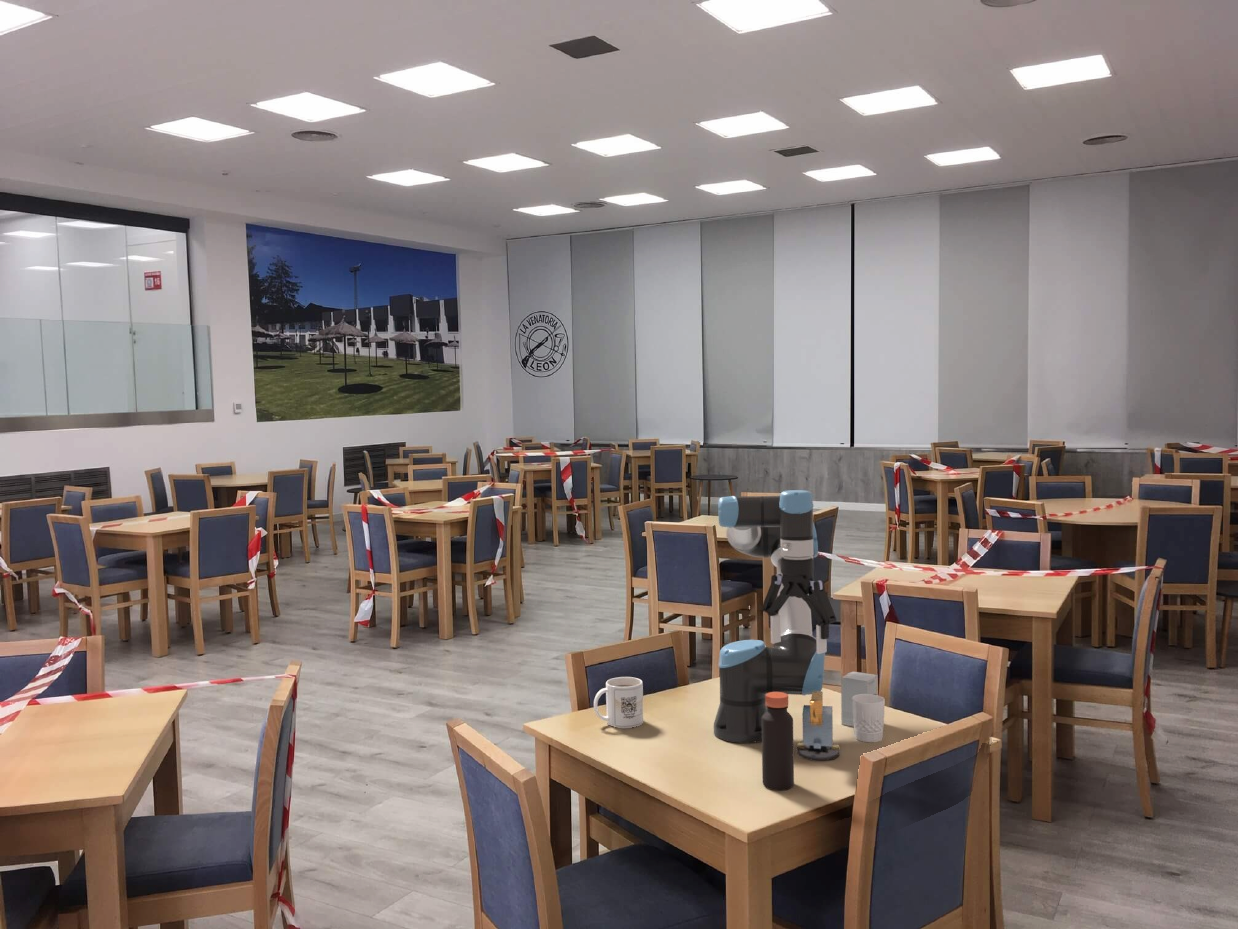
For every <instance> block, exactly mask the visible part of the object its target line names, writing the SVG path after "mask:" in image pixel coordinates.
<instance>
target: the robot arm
mask: <svg viewBox="0 0 1238 929" xmlns="http://www.w3.org/2000/svg"><path fill="white" fill-rule="evenodd" d="M813 502H814V501H813V493H812V492H811V491H809V490H805V489H804V490H803V489H798V490H796V489H795V490H794V489H793V490H790V489H789V490H784V491H782V492H781V493H780V495H761V496H757V495H756V496H755V495H754V496H751V495H750V496H744V495H743V496H739V495H738V496H737V495H730V496H722V497H720V498H719V499H718V505H717V506H718V507H717V508H718V511H717V512H718V513H717V514H718V524H719V526H720V527H722V528H726V532H725V533H726V539H727V542H728V544H730V546H731V547H732V548H733V549H734V550H736V551H738V552H739V553H742V554H745V555H747V556H749V557H750V556H751V557H755V558H770V561H771V564H772V565H773V566H774V567H775V568H776V574H773V575H771V579H770V585H769V588H768V590H767V593H766V596H765V598H764V600H763V603H762V606H761V607H760V608H761V611H762V612H764V613H767V614H766V615H767V616H768V629H770V644H773V645H772V646H769V647H767V646H766V644H765V642H764V641H763V640H761V639H760V640H759V639H745V640H744V639H743V640H742V639H741V640H738V641H733V642H729V643H726V644H725V645H724V646H723V647H721V649H720V650H719V659H718V660H719V663H718V667H719V704H718V708H717V711H716V715H715V719H714V722H713V735H714V736H715V737H717V738H718V739H720V740H722V741H727V742H731V743H741V744H750V743H751V744H753V743H754V744H755V743H759V742H762V716H763V714H764V713H765V712H766V711H767V707H766V694H767V693H770V692H783V693H786V694H788V695H794V696H795V695H796V696H797V695H798V696H799V695H801V696H806V695H812V691H820V692H822V691H823V686H824V685H823V684H824V671H825V659H826V658H825V657H826V653H827V650H828V649H827V648H828V646H827V645H828V644H827V642H828V641H827V640H828V639H829V637H830V628H829V627H830V625H831V624H833V623H837V617H836V614H835V612H834V609H833V607H832V603H831V601H830V599H829V597H828V594H827V591H826V588H825V580H824V579H823V580H822V579H821V580H817V581H816V580H815V581H814V580H813V574H814V570H815V569H814V568H815V567H814V564H815V563H814V558H817V557H818V554H819V546H818V544H819V542H818V538H817V537H818V536H817V530H816V526H815V523H814V511H813V510H814V503H813ZM812 615H813V616H814V617H815V619H816V621H817V622H818V624H816V626H815V628H816V630H815V633H816V636H813V626H812Z"/></svg>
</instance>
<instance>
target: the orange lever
mask: <svg viewBox="0 0 1238 929" xmlns="http://www.w3.org/2000/svg"><path fill="white" fill-rule="evenodd" d="M823 696H824V695H823V691H821V692H820V691H812V694H811V697H810V700H809V704H803V706H802V707H803V708H802V742H803V745H812V746H814V748H818V749H821V746H829V747H832V744H833V743H834V742H833V740H834V739H833V738H834V736H833V735H834V734H833V733H834V732H833V729H834V728H833V725H834V724H833V722H834V720H833V718H834V717H833V706H831V705H829V706H828V705H824V704H823V703H824V702H823V699H824V698H823Z"/></svg>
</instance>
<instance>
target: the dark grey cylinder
mask: <svg viewBox="0 0 1238 929" xmlns="http://www.w3.org/2000/svg"><path fill="white" fill-rule="evenodd" d="M840 749H841V748H840V745H839V744H837V743H834V742H833V744H832V747H829V746H821V749H818V748H814V746H812V745H803V741H800V742H797V744H796V754H797V755H798V757H800V758H803V759H804V760H810V761H815V762H816V761H819V762H826V761H827V762H828V761H834V760H835V759H838V758H839V757H840V752H841V750H840Z"/></svg>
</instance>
